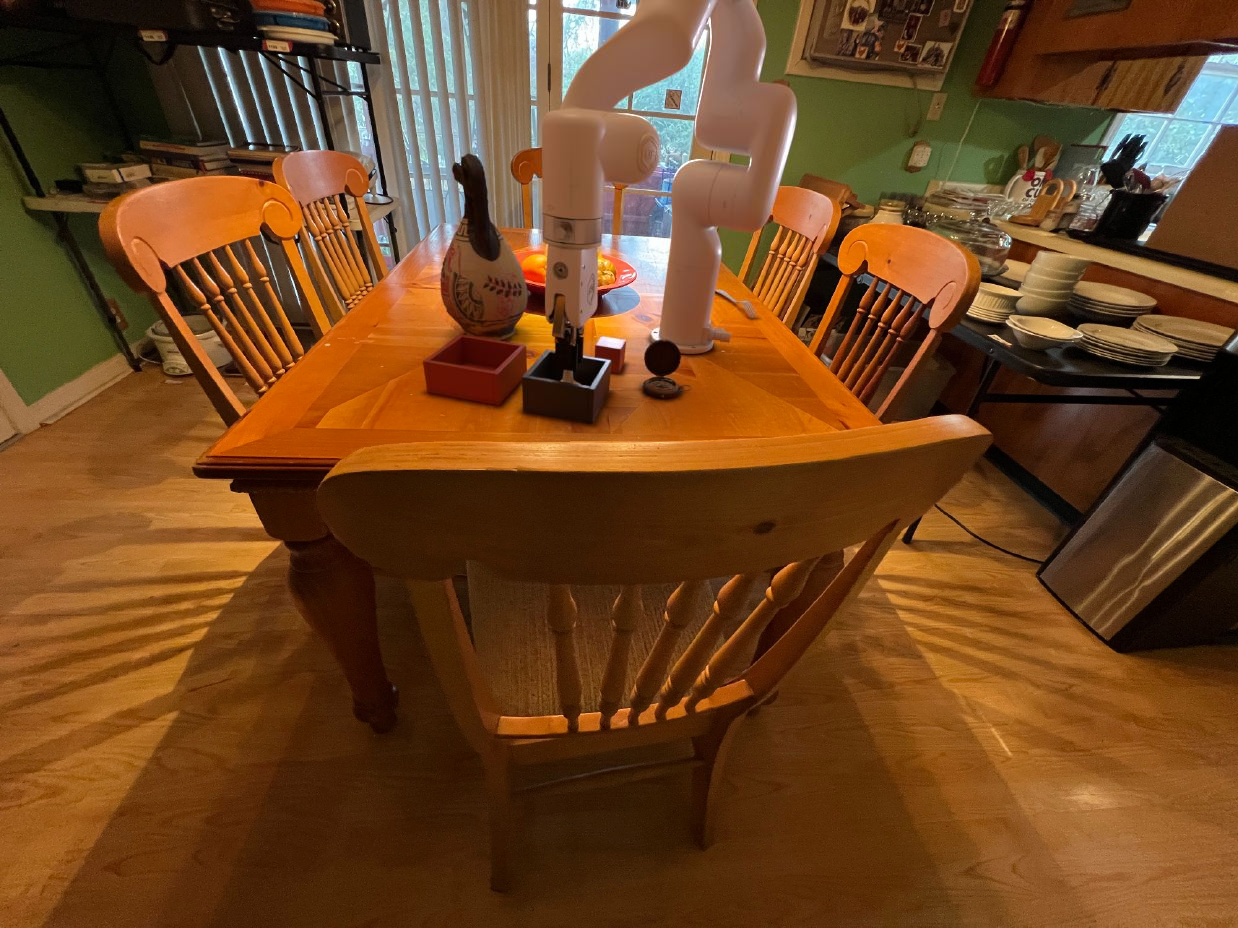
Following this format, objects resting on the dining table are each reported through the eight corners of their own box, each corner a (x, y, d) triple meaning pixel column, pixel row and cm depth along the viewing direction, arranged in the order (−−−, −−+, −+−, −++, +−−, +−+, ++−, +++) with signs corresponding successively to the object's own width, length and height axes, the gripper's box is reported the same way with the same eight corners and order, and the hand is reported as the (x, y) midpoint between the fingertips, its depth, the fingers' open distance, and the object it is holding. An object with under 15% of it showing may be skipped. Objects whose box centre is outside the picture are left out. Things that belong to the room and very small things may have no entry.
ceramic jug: (440, 322, 100) (417, 144, 83) (517, 317, 106) (511, 150, 88) (453, 356, 88) (430, 155, 70) (540, 349, 93) (537, 161, 76)
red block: (624, 363, 91) (626, 340, 88) (618, 373, 87) (620, 349, 85) (599, 359, 91) (601, 336, 89) (593, 369, 88) (595, 345, 85)
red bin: (527, 374, 84) (526, 345, 81) (499, 405, 75) (497, 374, 72) (462, 362, 86) (459, 334, 83) (427, 392, 76) (422, 361, 73)
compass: (643, 398, 80) (648, 355, 76) (641, 377, 87) (646, 336, 83) (693, 402, 81) (700, 359, 77) (687, 380, 87) (694, 340, 83)
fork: (720, 299, 135) (721, 289, 134) (758, 318, 118) (761, 306, 117) (710, 300, 135) (711, 289, 133) (748, 318, 117) (750, 306, 116)
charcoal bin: (609, 392, 81) (611, 360, 78) (592, 424, 73) (594, 389, 69) (546, 381, 83) (546, 349, 79) (522, 411, 74) (521, 377, 71)
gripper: (584, 246, 57) (578, 393, 67) (615, 223, 70) (606, 349, 80) (520, 238, 58) (525, 383, 68) (563, 217, 70) (561, 342, 81)
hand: (569, 364), depth 74 cm, fingers closed
